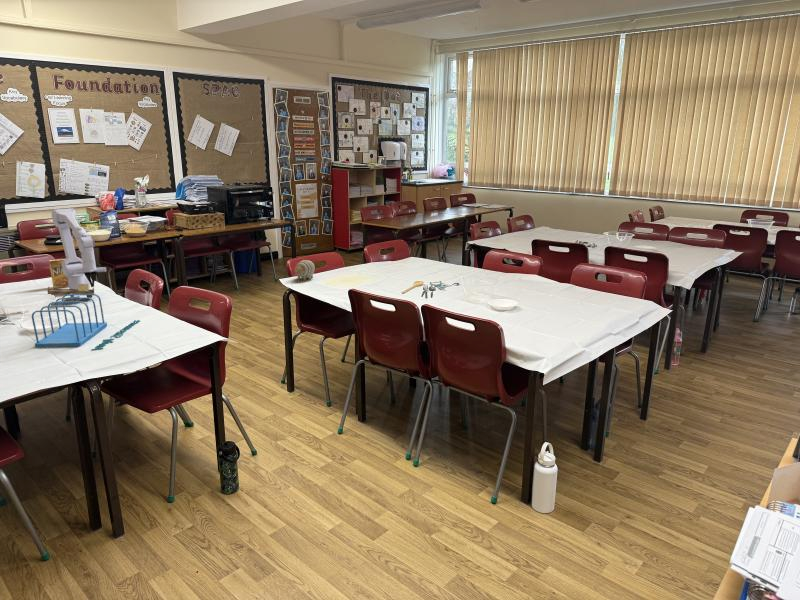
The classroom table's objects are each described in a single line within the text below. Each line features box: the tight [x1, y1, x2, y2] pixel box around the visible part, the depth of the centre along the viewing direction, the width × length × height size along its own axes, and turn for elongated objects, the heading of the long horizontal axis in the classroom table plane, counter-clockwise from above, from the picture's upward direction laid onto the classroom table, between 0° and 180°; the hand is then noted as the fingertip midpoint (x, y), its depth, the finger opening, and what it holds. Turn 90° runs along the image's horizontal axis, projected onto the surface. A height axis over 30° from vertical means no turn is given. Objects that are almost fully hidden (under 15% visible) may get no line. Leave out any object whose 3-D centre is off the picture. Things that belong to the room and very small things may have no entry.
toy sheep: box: [294, 259, 316, 281], centre depth 329 cm, size 11×17×11 cm, turn 160°
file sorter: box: [31, 293, 108, 348], centre depth 231 cm, size 25×17×15 cm
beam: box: [47, 286, 95, 299], centre depth 282 cm, size 20×6×4 cm, turn 119°
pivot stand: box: [65, 292, 81, 306], centre depth 282 cm, size 6×11×5 cm, turn 29°
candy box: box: [48, 258, 70, 289], centre depth 308 cm, size 9×4×15 cm, turn 118°
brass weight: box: [78, 283, 90, 292], centre depth 284 cm, size 4×4×4 cm
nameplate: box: [90, 319, 141, 352], centre depth 236 cm, size 37×1×5 cm
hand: (92, 286), depth 286 cm, fingers closed
